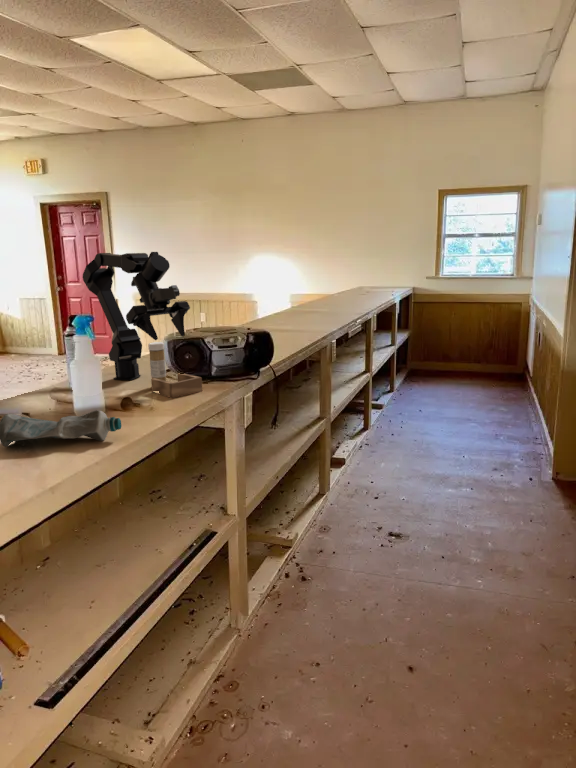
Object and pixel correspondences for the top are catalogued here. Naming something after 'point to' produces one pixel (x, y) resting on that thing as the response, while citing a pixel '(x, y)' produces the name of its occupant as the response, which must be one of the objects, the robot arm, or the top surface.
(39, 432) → the crushed plastic bottle
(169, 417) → the top surface
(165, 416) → the top surface
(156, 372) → the sprinkles bottle
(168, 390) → the cradle
